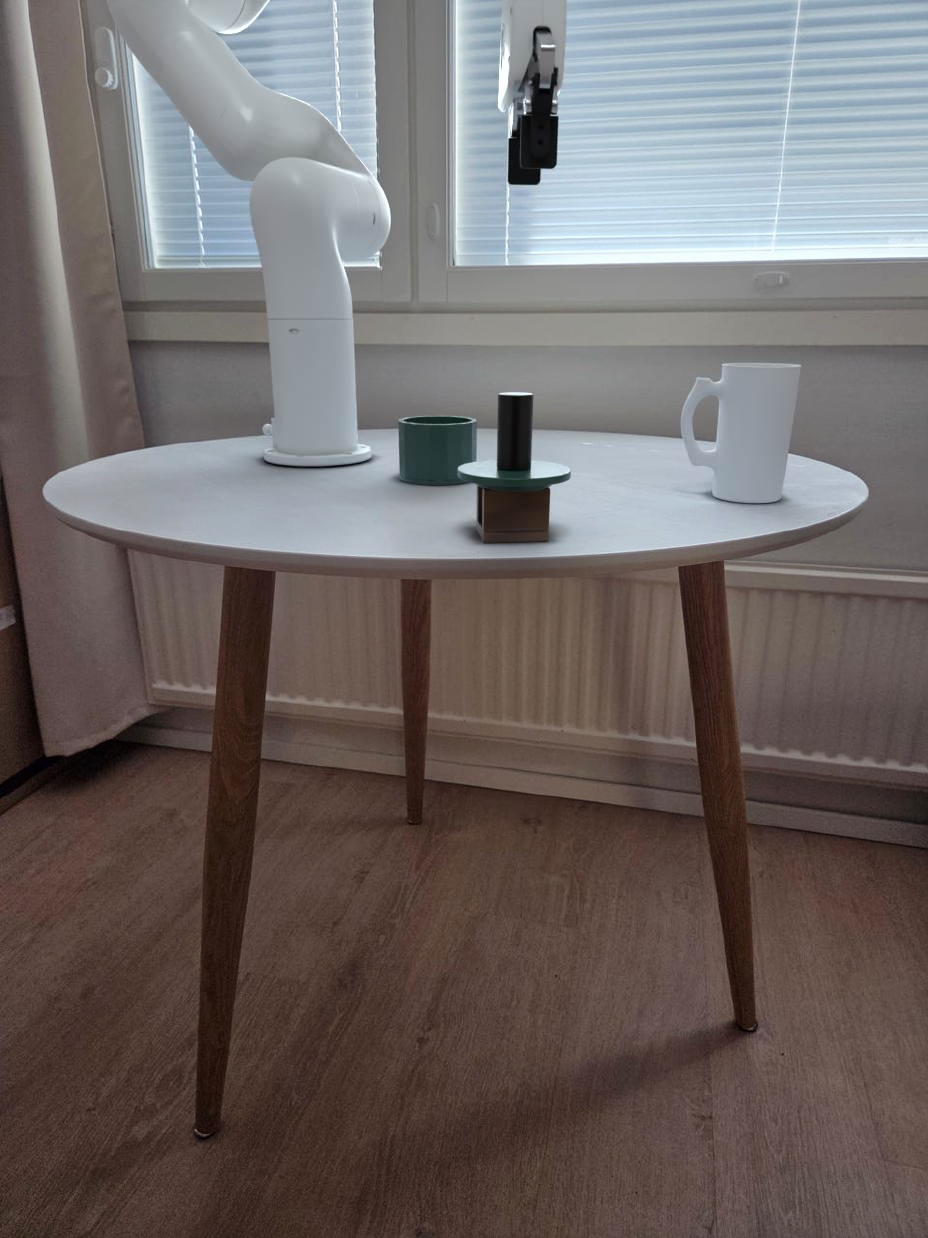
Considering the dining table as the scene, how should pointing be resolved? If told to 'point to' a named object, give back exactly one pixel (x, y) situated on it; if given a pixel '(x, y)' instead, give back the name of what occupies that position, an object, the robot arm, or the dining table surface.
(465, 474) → the lid
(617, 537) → the dining table surface
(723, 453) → the mug
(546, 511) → the rack
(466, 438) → the pot
